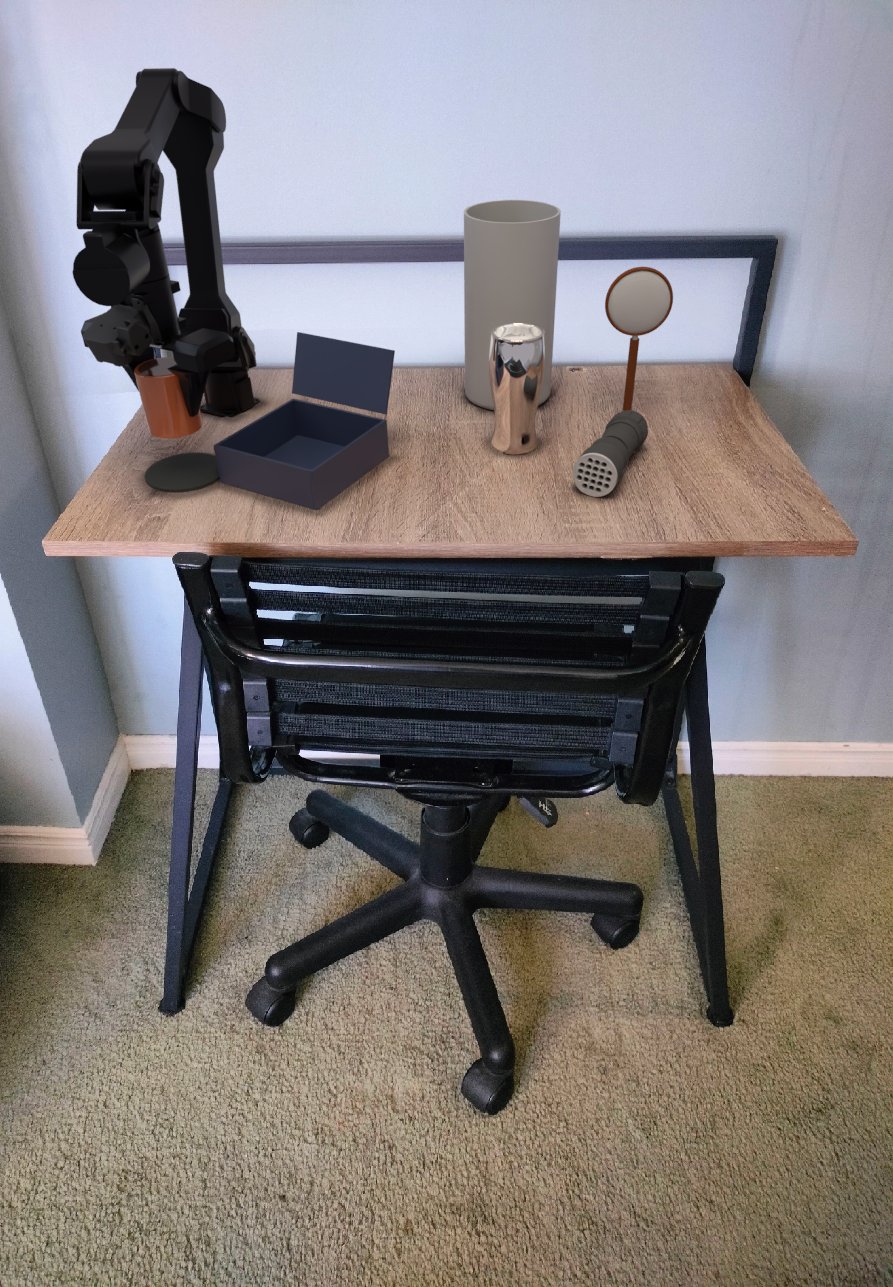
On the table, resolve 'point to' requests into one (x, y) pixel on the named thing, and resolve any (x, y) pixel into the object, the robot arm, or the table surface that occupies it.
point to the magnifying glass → (637, 312)
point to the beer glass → (516, 384)
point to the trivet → (183, 473)
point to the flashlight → (610, 454)
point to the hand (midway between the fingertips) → (172, 410)
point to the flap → (343, 372)
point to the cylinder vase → (507, 282)
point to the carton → (302, 453)
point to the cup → (164, 400)
